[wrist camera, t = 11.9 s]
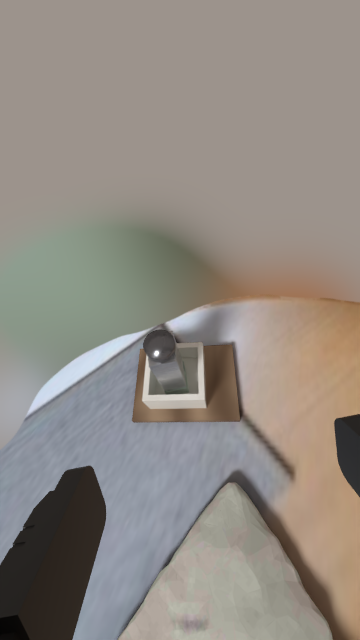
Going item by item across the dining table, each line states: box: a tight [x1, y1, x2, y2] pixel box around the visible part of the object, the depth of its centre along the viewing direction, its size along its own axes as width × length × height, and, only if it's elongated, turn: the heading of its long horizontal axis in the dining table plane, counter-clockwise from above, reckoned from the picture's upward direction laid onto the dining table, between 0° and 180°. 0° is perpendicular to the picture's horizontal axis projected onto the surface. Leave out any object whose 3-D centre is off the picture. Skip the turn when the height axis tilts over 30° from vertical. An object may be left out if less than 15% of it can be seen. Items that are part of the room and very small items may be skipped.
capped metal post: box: [143, 330, 189, 395], centre depth 34 cm, size 4×4×13 cm
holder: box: [142, 342, 207, 409], centre depth 38 cm, size 9×9×5 cm
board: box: [132, 345, 240, 422], centre depth 40 cm, size 16×12×1 cm
